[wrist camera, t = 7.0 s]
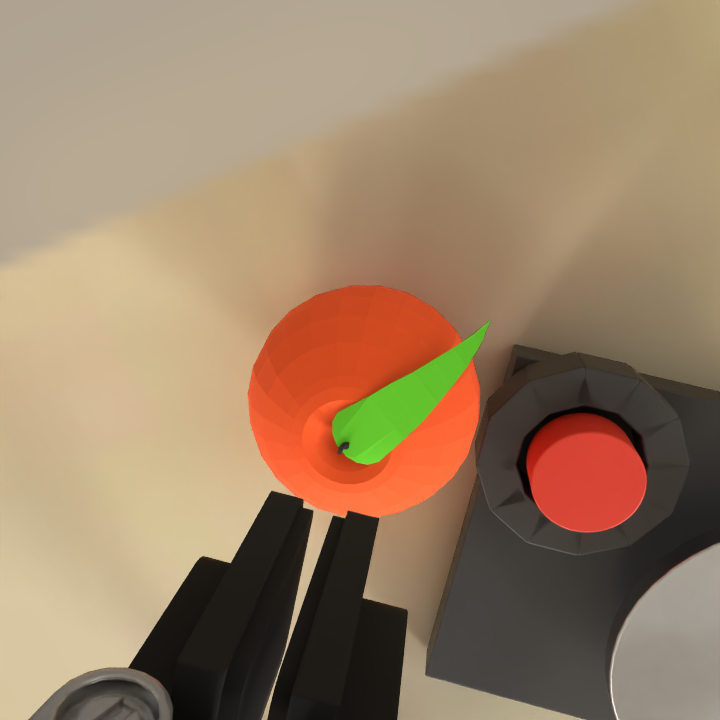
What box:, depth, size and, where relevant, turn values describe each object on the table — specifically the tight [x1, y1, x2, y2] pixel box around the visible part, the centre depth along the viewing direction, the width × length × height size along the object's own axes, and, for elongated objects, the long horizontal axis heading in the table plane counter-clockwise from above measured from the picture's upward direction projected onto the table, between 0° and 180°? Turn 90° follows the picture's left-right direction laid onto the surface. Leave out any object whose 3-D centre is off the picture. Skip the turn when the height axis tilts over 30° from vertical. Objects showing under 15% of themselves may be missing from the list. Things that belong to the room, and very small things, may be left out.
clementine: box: [248, 286, 490, 517], centre depth 20 cm, size 8×7×7 cm
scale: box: [425, 345, 720, 720], centre depth 22 cm, size 16×14×3 cm
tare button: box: [526, 413, 647, 532], centre depth 20 cm, size 3×3×2 cm
